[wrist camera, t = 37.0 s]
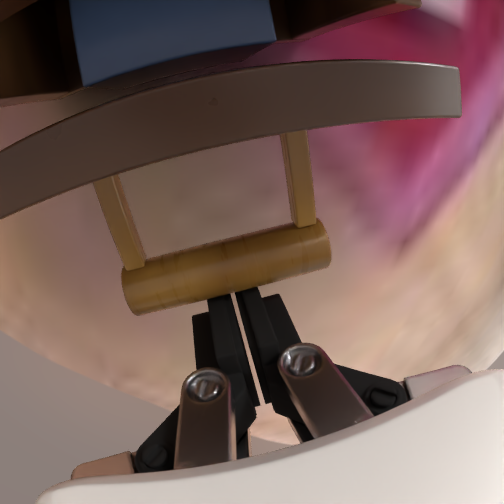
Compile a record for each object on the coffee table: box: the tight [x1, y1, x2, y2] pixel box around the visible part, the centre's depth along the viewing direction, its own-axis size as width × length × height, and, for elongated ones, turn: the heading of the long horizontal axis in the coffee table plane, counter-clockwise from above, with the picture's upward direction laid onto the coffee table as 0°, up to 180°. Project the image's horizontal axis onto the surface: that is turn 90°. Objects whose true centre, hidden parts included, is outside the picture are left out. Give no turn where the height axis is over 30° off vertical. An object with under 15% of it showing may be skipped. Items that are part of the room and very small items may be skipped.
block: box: [69, 0, 277, 89], centre depth 6 cm, size 4×4×4 cm
